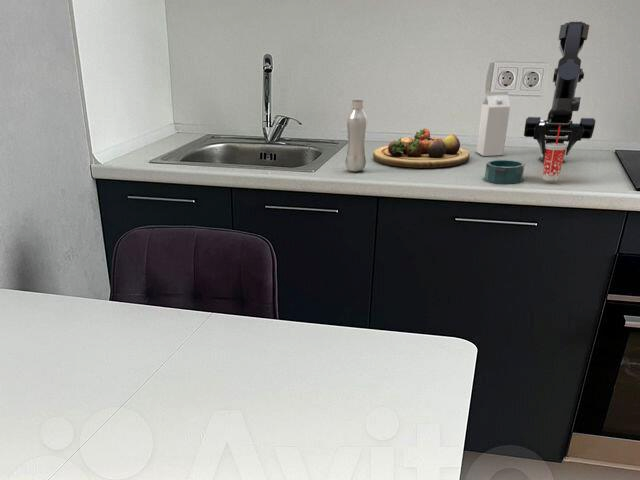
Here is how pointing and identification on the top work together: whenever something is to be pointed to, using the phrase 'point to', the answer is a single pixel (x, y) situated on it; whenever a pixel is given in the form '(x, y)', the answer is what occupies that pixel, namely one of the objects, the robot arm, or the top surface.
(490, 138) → the milk carton
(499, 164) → the pot
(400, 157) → the wooden plate
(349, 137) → the plastic bottle
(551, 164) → the beverage cup
